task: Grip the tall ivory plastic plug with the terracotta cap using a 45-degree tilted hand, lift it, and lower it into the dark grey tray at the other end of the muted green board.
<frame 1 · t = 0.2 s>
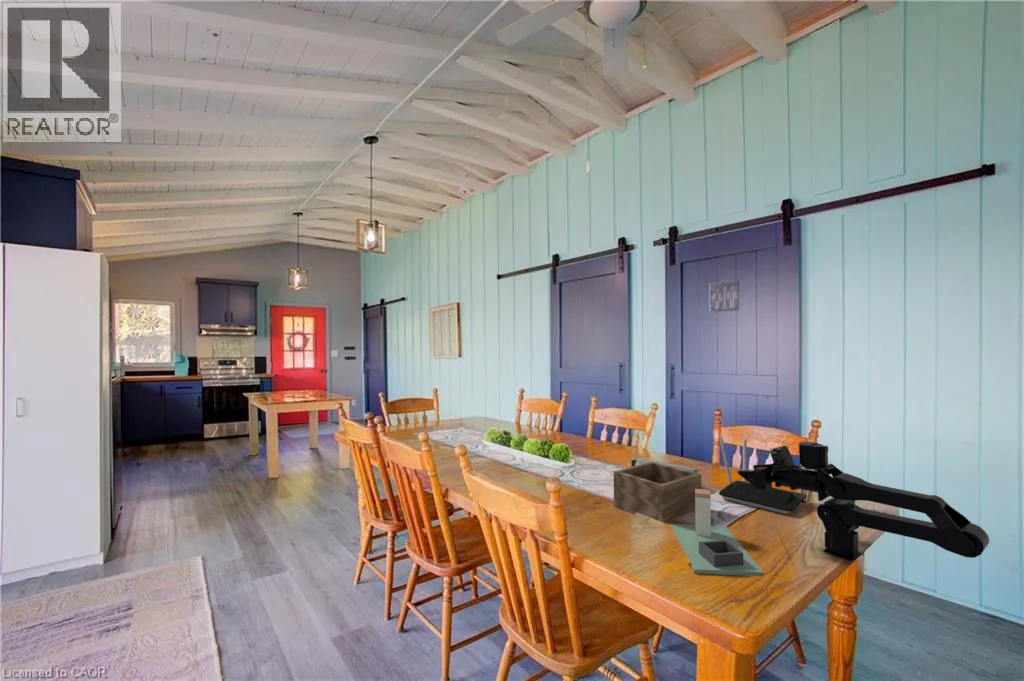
hand: (746, 469, 146), 17 cm above the table, tool horizontal, fingers open, 9 cm apart
board: (711, 548, 129), on the table
wireless router: (765, 500, 167), on the table
decorative block: (662, 482, 189), on the table
plug: (703, 533, 137), point 1 cm above the table, touching board
open wooden crate: (657, 508, 160), on the table
dark grey tray: (720, 562, 122), resting on board
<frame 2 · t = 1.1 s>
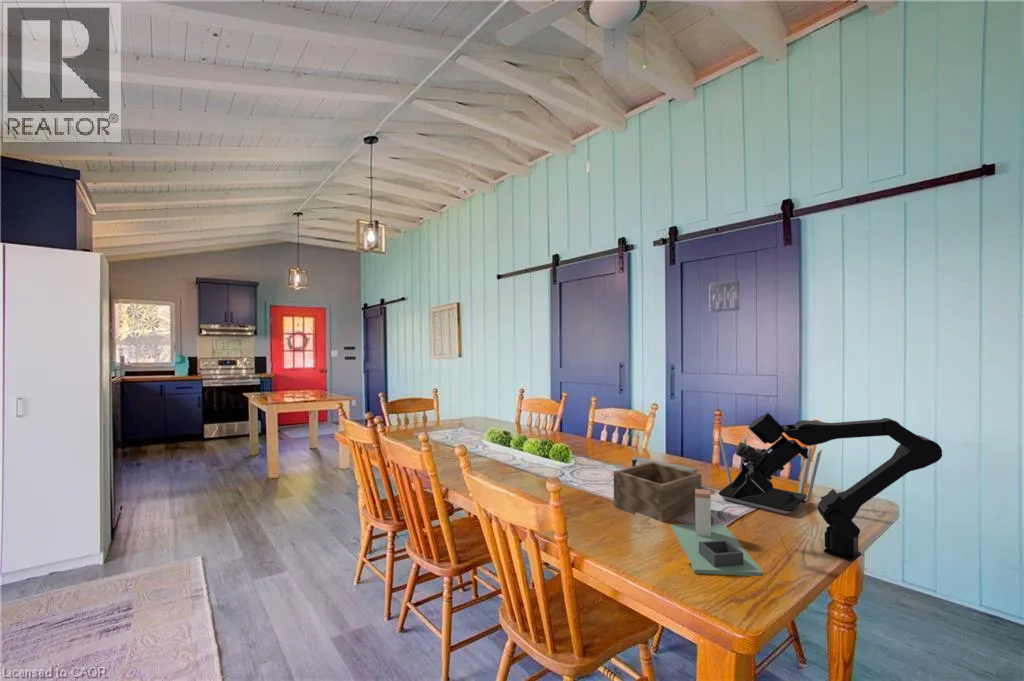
hand: (733, 491, 134), 14 cm above the table, tool tilted 45°, fingers open, 9 cm apart
nothing on the table moved.
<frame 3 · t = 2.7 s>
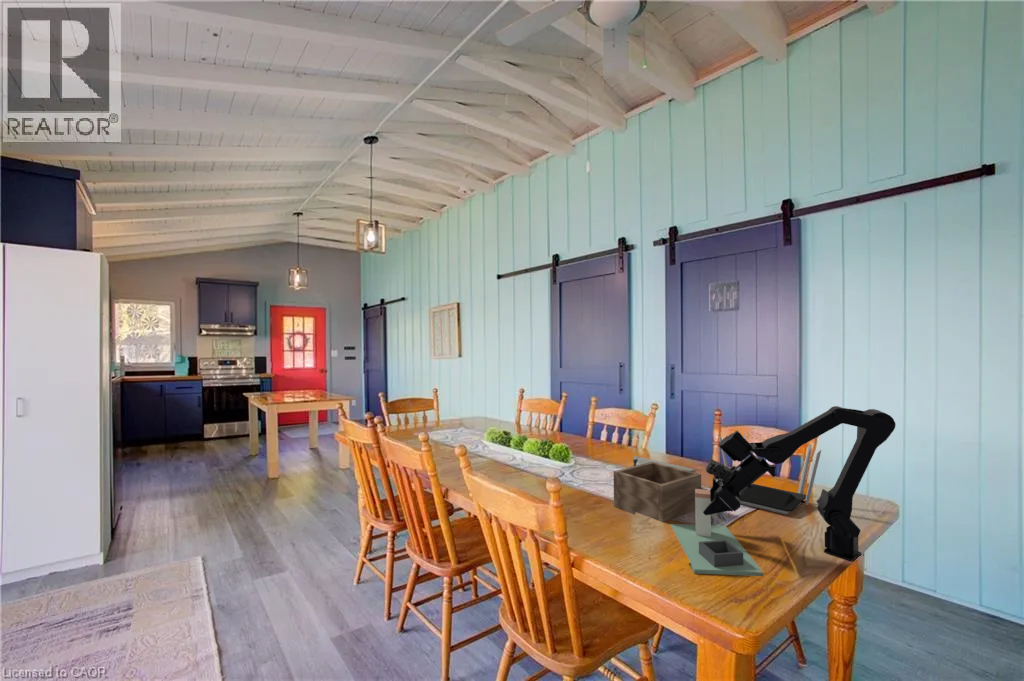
hand: (703, 508, 137), 8 cm above the table, tool tilted 45°, fingers open, 9 cm apart
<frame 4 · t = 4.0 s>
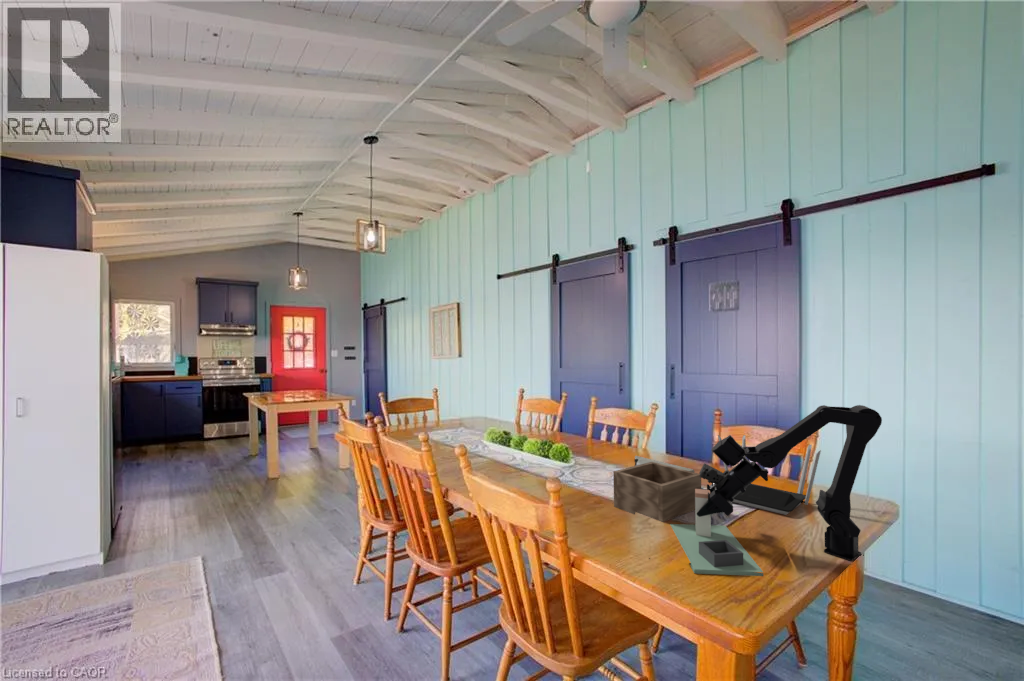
hand: (697, 512, 138), 7 cm above the table, tool tilted 45°, fingers closed on plug, 4 cm apart
plug: (703, 533, 137), point 1 cm above the table, touching board, gripper
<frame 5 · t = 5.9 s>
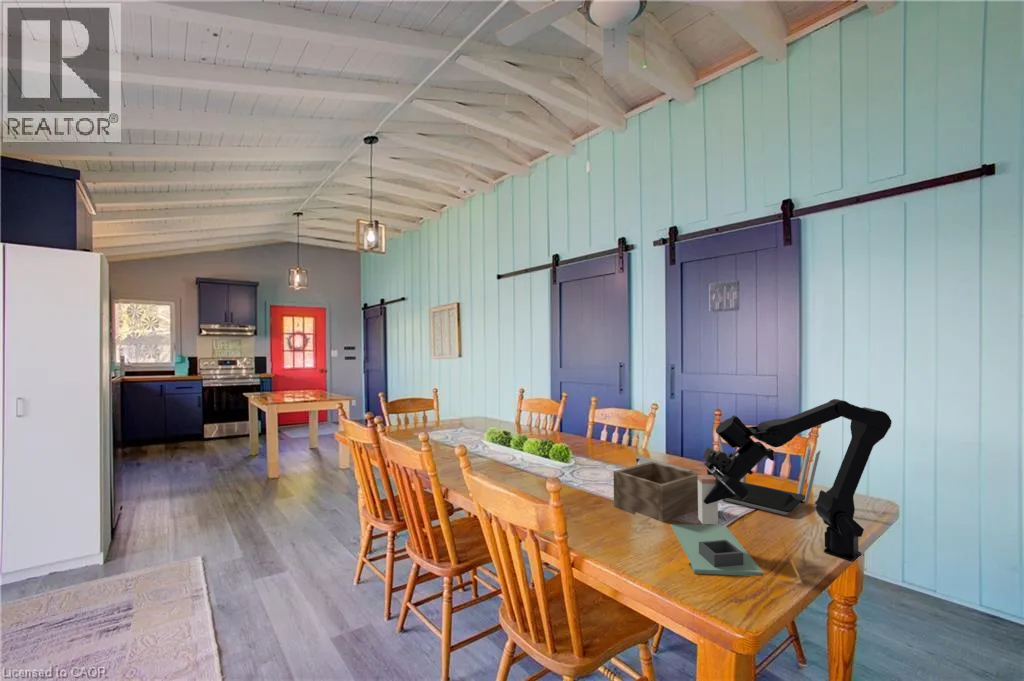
hand: (702, 499, 129), 13 cm above the table, tool tilted 45°, fingers closed on plug, 4 cm apart
plug: (707, 521, 129), point 8 cm above the table, touching gripper
when the fingers open (8 cm above the table, at t = 8.0 s): plug drops 1 cm, resting on board.
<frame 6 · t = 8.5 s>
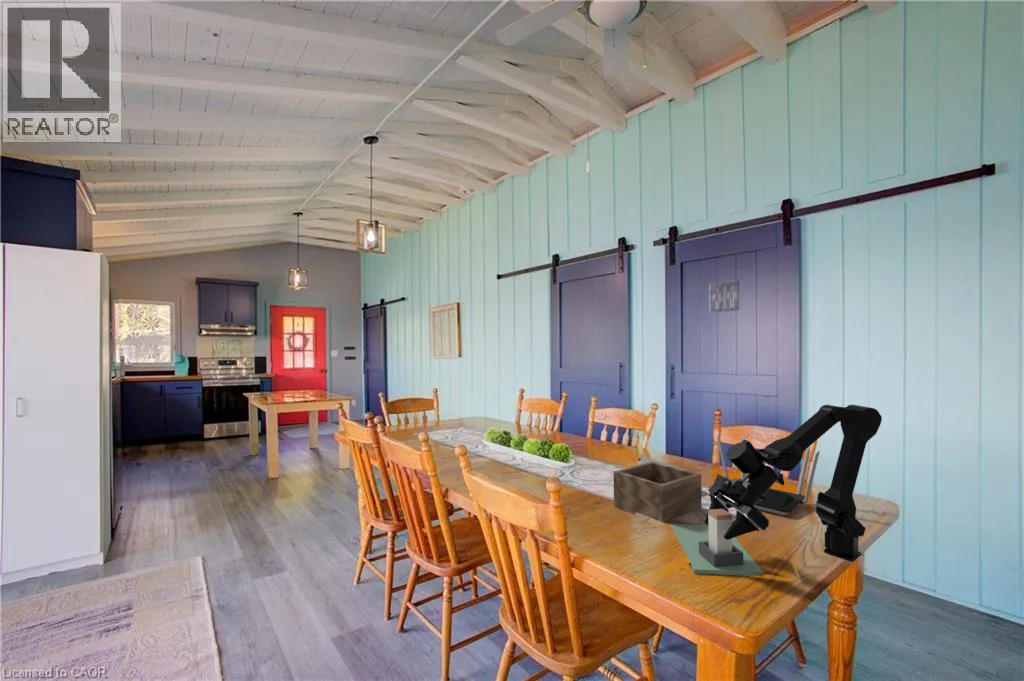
hand: (715, 530, 121), 8 cm above the table, tool tilted 45°, fingers open, 9 cm apart
plug: (720, 558, 122), point 1 cm above the table, touching board
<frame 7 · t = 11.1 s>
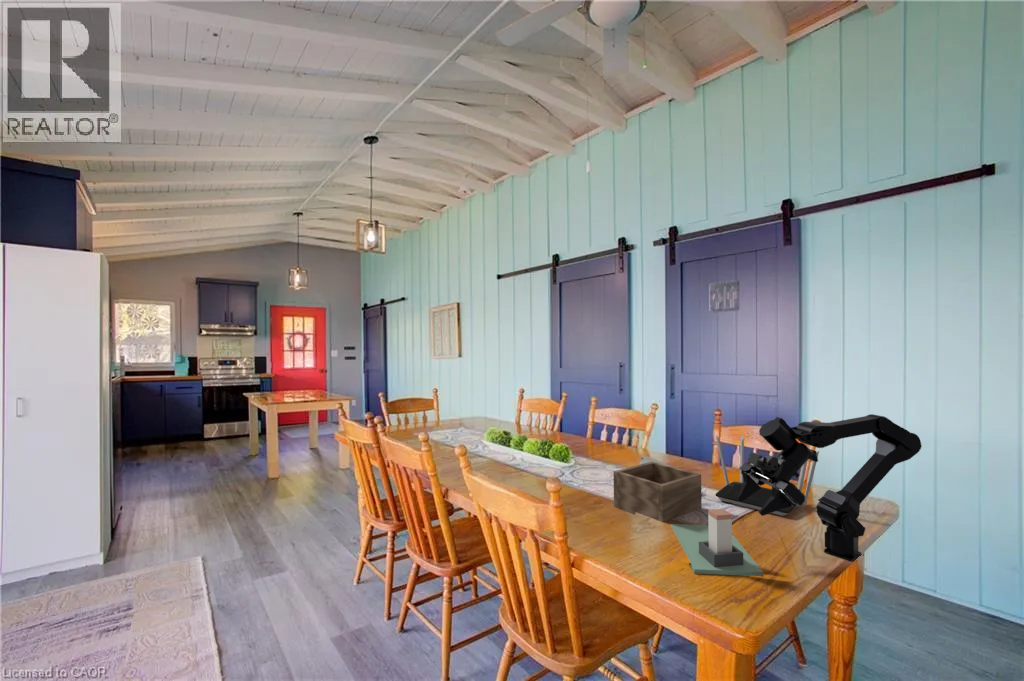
hand: (749, 507, 123), 14 cm above the table, tool tilted 45°, fingers open, 9 cm apart
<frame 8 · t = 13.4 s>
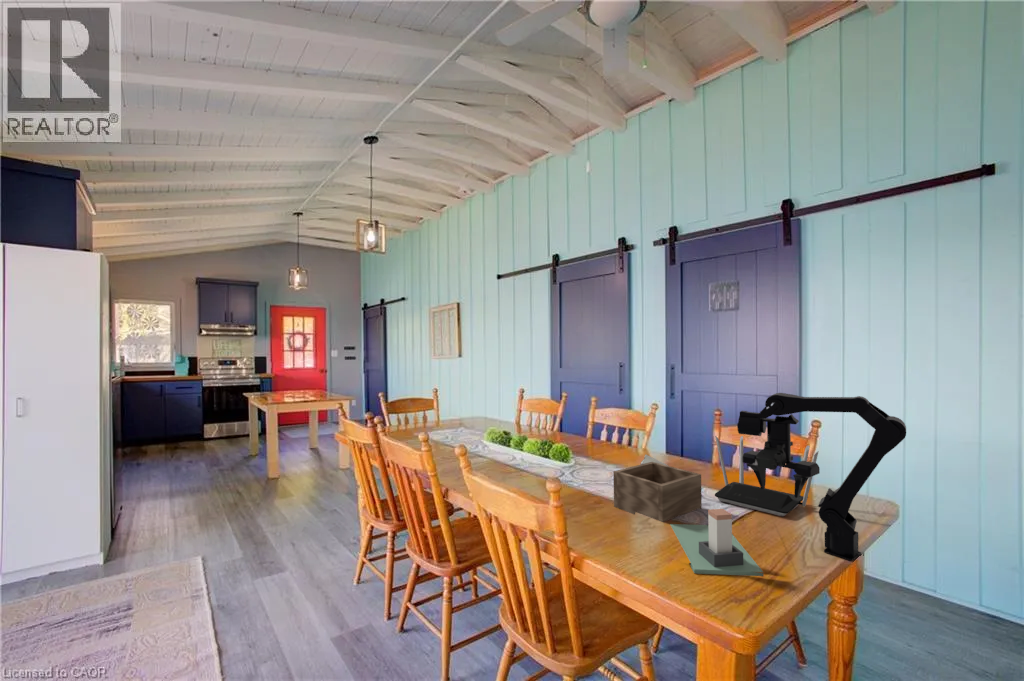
hand: (779, 493, 135), 13 cm above the table, tool pointing down, fingers open, 9 cm apart
at the end: plug 0.0 cm off-centre on the dark grey tray, point 1.0 cm above the dark grey tray's base; plug tilted 0°; the gripper is holding nothing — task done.
